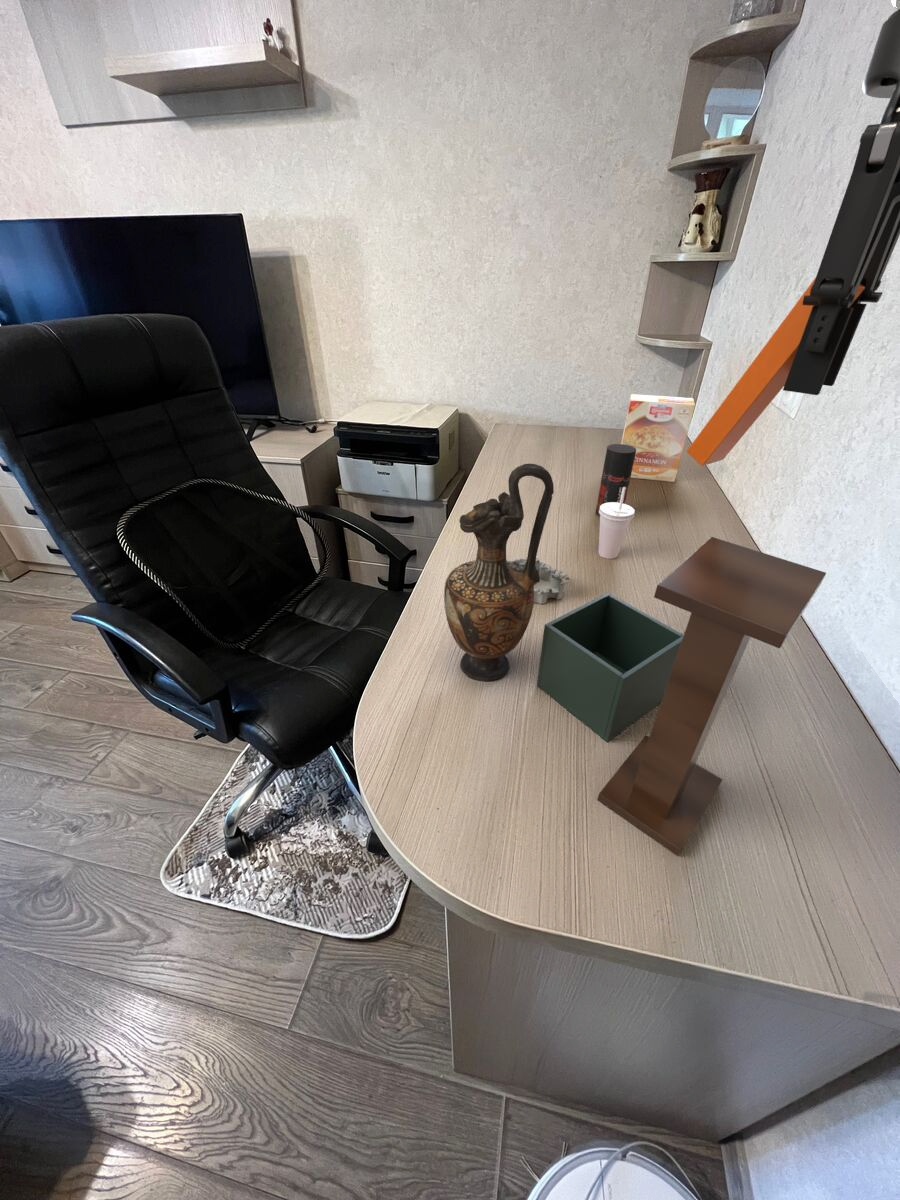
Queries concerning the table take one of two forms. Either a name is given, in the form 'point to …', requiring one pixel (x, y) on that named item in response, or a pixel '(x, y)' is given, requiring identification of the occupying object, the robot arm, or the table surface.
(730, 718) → the table surface
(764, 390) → the block
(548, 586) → the egg carton
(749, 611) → the stand
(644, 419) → the coffeecake box
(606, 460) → the deodorant
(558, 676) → the trash bin
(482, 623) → the vase
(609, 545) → the smoothie
